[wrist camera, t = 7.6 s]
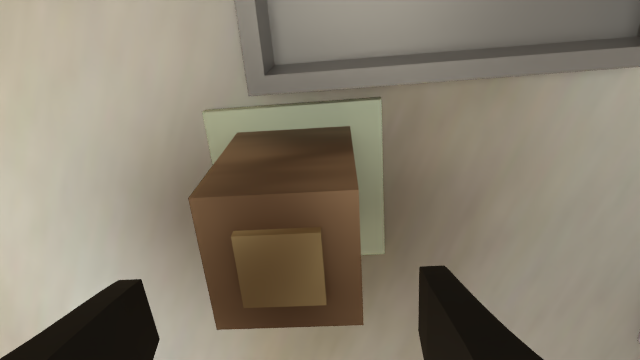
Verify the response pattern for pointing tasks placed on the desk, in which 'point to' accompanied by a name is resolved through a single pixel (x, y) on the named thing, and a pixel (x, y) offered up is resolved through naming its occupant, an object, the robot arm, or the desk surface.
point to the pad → (352, 112)
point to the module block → (282, 230)
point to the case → (428, 41)
